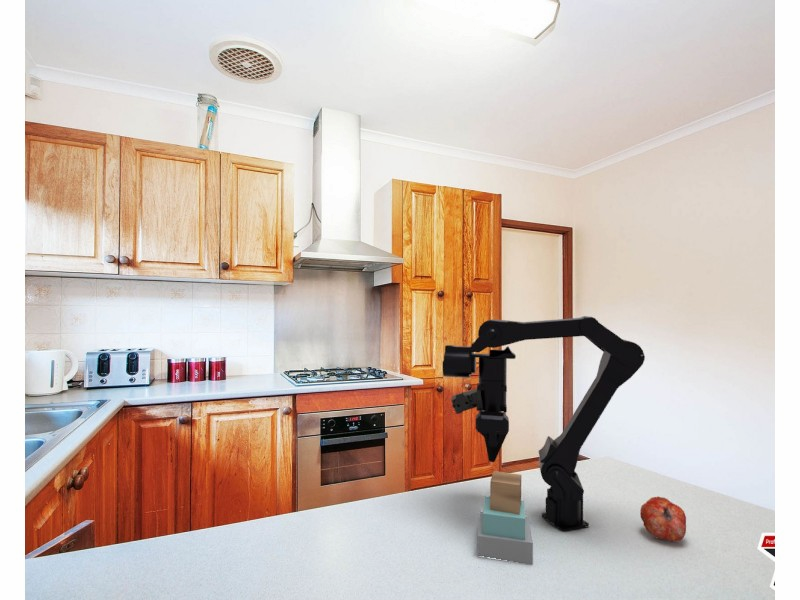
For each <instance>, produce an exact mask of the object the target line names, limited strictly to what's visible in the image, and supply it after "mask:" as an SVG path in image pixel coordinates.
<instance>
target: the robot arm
mask: <svg viewBox="0 0 800 600" xmlns="http://www.w3.org/2000/svg"><path fill="white" fill-rule="evenodd" d="M477 336H478V337H477V338H476V339H475V340H474V341H473V342H472V343H471V344H470V345H471V346H464V345H462V346H460V345H454V344H453V345H452V344H447V345H445V346H444V353H443V360H442V376H443V377H444V378H445V377H446V378H447V377H448V378H465V379H467V378H468V379H470V378H471V377H472V374H476V373H477V372H476V371H477V358H478V382H477V383H476V384H477V385H476V388H475V389H470V390H467V391H461V392H460V393H456V394H454V395H453V396H451V399H450V400H451V404H452V406H451V407H452V409H453V410H454V412H455V414H456V415H459V414H462V413H463V412H466V411H469V410H473V409H475V408H476V412H477V411H478V413H477V414H476V415H475V430H476V431H477V433H479V434H480V435H481V436H482V437H483V438H484V444H485V447H486V452H487V457H488V458H487V459H488V462H491V463H494V462H496V459H497V458H498V456H499V452H500V450H501V448H502V447H503V443H504V441H505V439H506V437H507V435H509V434H508V433H509V431H510V421H509V416H508V415H507V412H508V411H507V410H508V409H507V408H508V407H507V391H508V387H507V371H508V370H507V363H508V362H507V359H509V360H515V359H516V356H517V355H516V354H515V353H514V352H513V351H512V349H511V348H510V347H509V345H511V344H516V343H518V342H523V341H529V340H543V339H558V338H574V337H585V338H586V339H587V340H588V341H589V342H591V343H592V344H593V345H594V346H595V347H597V348H598V349H599V350H600V351H601V352H603V353H602V356H601V358H600V361H599V364H598V370H597V373H596V376H595V378H594V379H593V381H592V383H591V385H590V386H589V387H588V390H587V391H586V393H585V394H584V396H583V397H582V400H581V401H580V403H579V404H578V406H577V408H576V409H575V411H574V412H573V414H572V416H571V418H570V419H569V421H568V422H567V424H566V426H565V427H564V429H563V431H562V433H560V435H558V436H557V437H556V438H555V439H553V438H552V437H551V436H549V435H548V436H547V437H546V439H545V442H544V445H543V446H542V447H541V448H540V449H539V450H538V455H539V457H538V464H539V470H540V475H541V477H542V480H543V481H544V483H546V484H547V485H548V486H549V488H546V489H547V490H546V497H545V512H542V513H541V516H542V518H544V519H545V520H546V521H548V522H549V523H550V524H551V525H553V526H554V527H556V528H557V529H559V531H562V532H567V531H573V530H578V529H583V528H589V527H590V524H589V522H588V521H586V520H584V493H585V490H584V487H583V485H582V482H581V480H580V478H579V477H580V476H579V475H578V473H577V472H576V468H577V463H578V460H579V456H580V451H581V449H582V447H583V445H584V444H585V442H586V440H587V439H588V438H589V436H590V434H591V432H592V431H593V429H594V428H595V426H596V424H597V423H598V421H599V419H600V417H601V416H602V414H603V413H604V411H605V409H606V408H607V406H608V405H609V403H610V402H611V400H612V399H613V397H614V395H615V393H616V392H617V390H618V389H619V388H620V387H621V386H623V384H625V383H626V382H627V381H628V380H630V379H631V378H632V377H633V376H634V375H635V374H636V373H637V372H638V370H640V368H642V366H643V365H644V362H645V359H646V356H645V353H644V350H643V349H642V347H641V346H640V345H639V344H637V342H633V341H632V340H631V341H630V340H626V339H623V338H621V337H620V336H618V335H617V334H616V333H614V331H612V330H610V329H608V328H607V327H606V326H605V325H603V324H602V323H600V322H599V320H597V319H596V318H595V317H593V316H588V315H586V316H585V315H584V316H581V317H575V318H562V319H561V318H560V319H549V320H548V319H547V320H534V321H533V320H532V321H515V320H505V319H496V318H495V319H492V318H491V319H489V320H485V321H484V322H483V323H482V324H481V325H480V326H479V328H478V335H477ZM503 346H506V347H505V348H504V349H495V348H498V347H503ZM487 348H492V349H489V353H481V352H482V351H484V350H485V349H487Z"/></svg>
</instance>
